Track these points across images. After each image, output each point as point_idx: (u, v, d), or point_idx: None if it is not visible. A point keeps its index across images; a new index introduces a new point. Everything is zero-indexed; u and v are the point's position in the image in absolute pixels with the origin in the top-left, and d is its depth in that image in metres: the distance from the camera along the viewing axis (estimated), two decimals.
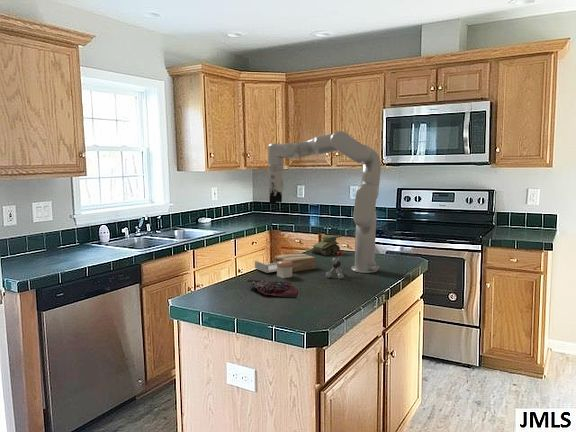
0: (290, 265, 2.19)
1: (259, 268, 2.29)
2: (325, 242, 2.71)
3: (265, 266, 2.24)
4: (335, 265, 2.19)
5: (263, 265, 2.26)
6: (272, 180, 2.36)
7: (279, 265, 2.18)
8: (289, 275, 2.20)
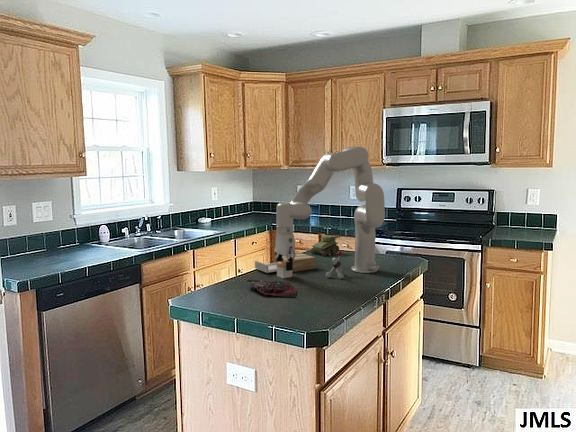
0: None
1: (259, 268, 2.29)
2: (324, 242, 2.70)
3: (265, 266, 2.24)
4: (335, 265, 2.19)
5: (263, 265, 2.26)
6: (290, 244, 2.16)
7: (279, 265, 2.18)
8: (289, 275, 2.20)
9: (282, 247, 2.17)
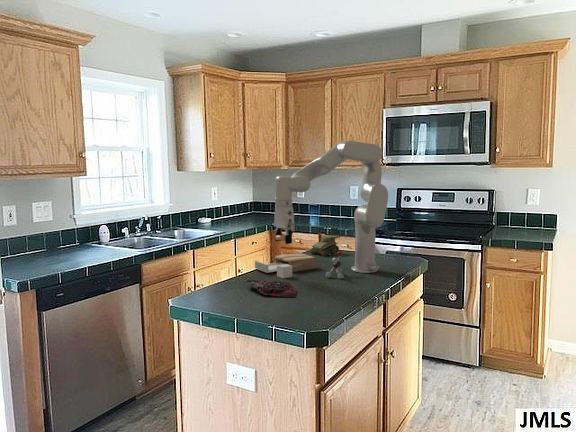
0: None
1: (259, 268, 2.29)
2: (324, 242, 2.70)
3: (265, 266, 2.24)
4: (335, 265, 2.19)
5: (263, 265, 2.26)
6: (290, 217, 2.15)
7: (278, 238, 2.18)
8: (289, 275, 2.20)
9: (281, 220, 2.17)
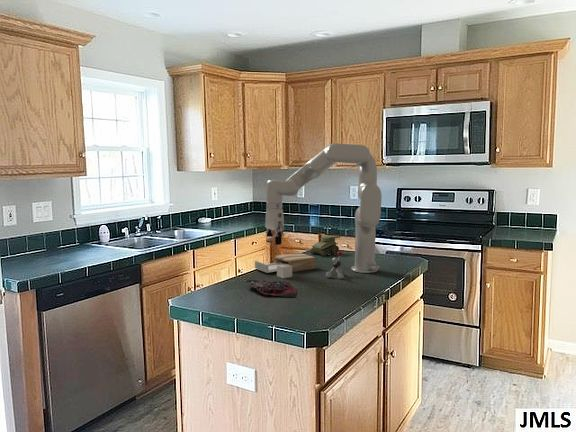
0: None
1: (259, 268, 2.29)
2: (324, 242, 2.70)
3: (265, 266, 2.24)
4: (335, 265, 2.19)
5: (263, 265, 2.26)
6: (279, 219, 2.25)
7: (268, 239, 2.28)
8: (289, 275, 2.20)
9: (271, 222, 2.27)
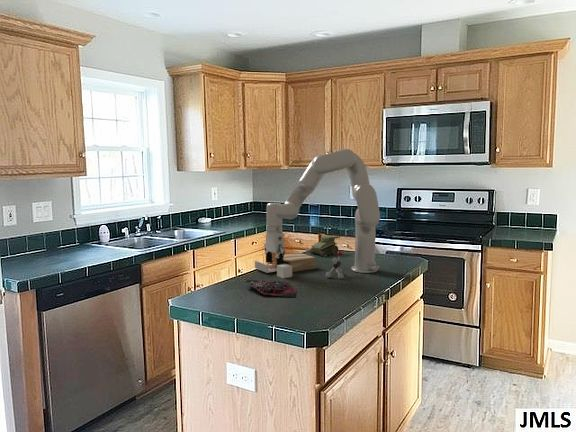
0: None
1: (259, 268, 2.29)
2: (323, 242, 2.69)
3: (265, 266, 2.24)
4: (335, 265, 2.19)
5: (263, 265, 2.26)
6: (280, 242, 2.27)
7: (269, 267, 2.30)
8: (289, 275, 2.20)
9: (271, 245, 2.28)
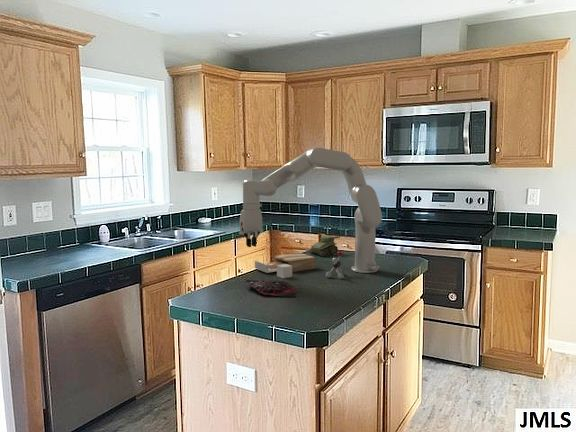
0: None
1: (259, 268, 2.29)
2: (323, 243, 2.69)
3: (265, 266, 2.24)
4: (335, 265, 2.19)
5: (263, 265, 2.26)
6: None
7: (268, 267, 2.30)
8: (289, 275, 2.20)
9: (256, 223, 2.22)
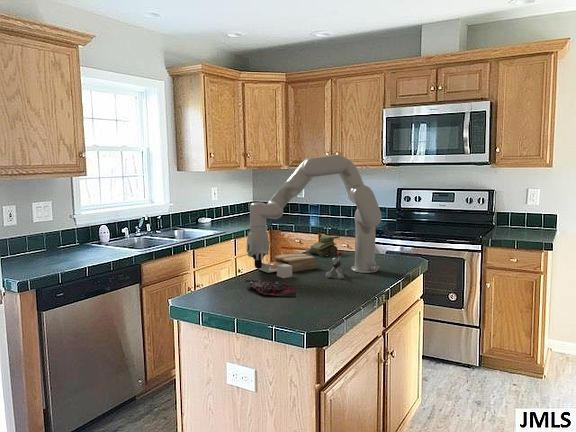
0: None
1: (260, 268, 2.29)
2: (322, 243, 2.68)
3: (266, 266, 2.25)
4: (335, 265, 2.19)
5: (264, 265, 2.26)
6: None
7: (269, 266, 2.30)
8: (289, 275, 2.20)
9: (263, 245, 2.25)
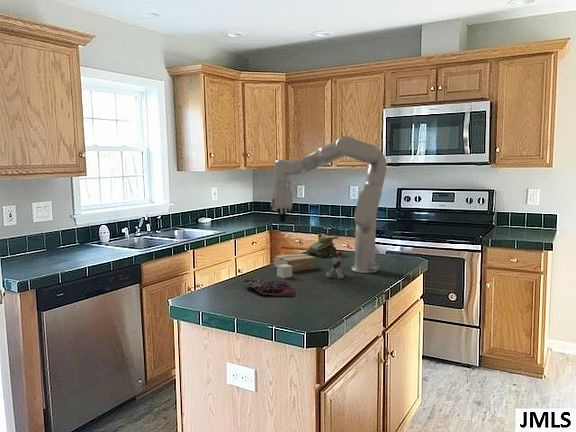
0: None
1: None
2: (321, 243, 2.67)
3: (285, 263, 2.31)
4: (335, 265, 2.19)
5: (283, 262, 2.32)
6: None
7: None
8: (289, 275, 2.20)
9: (287, 200, 2.38)
